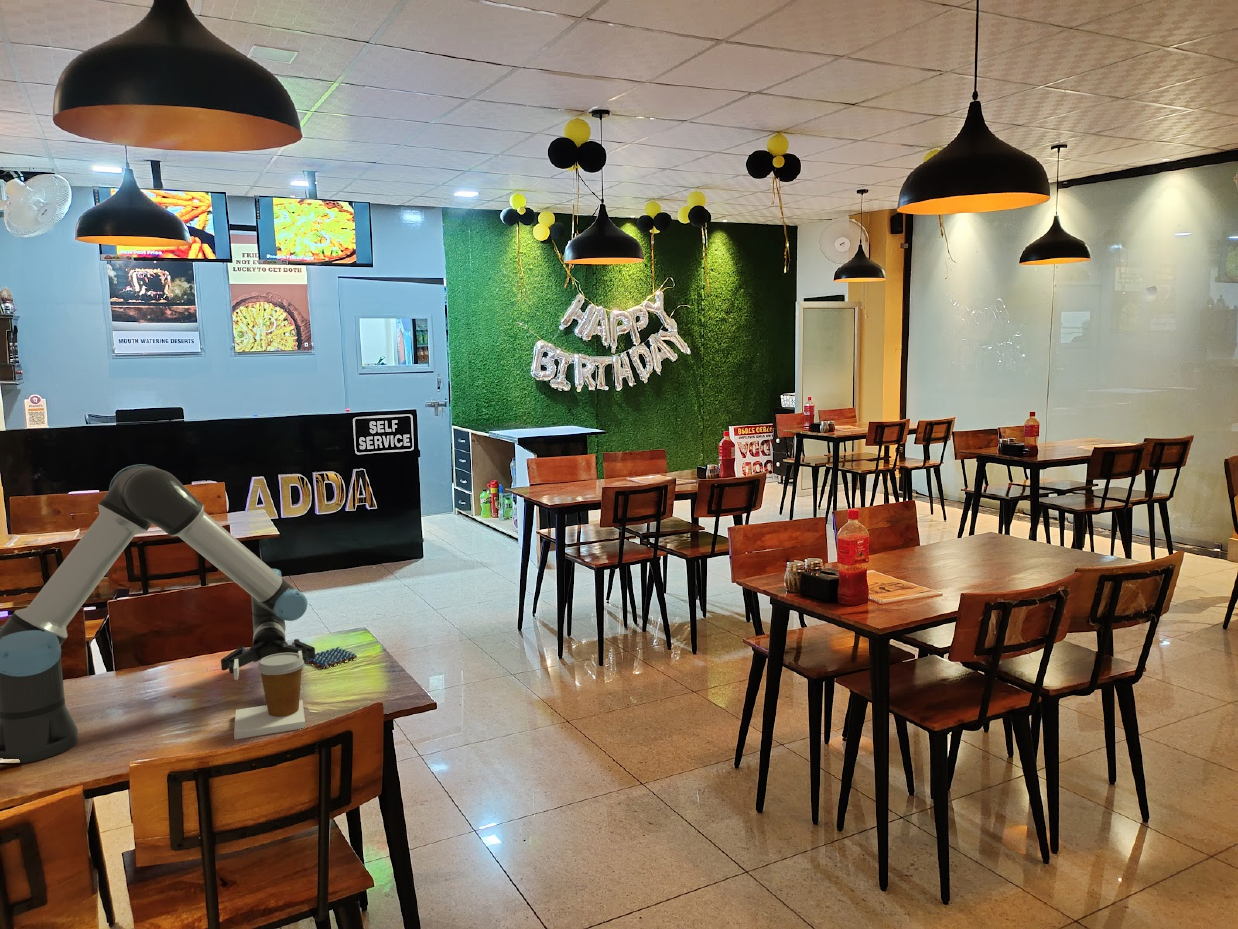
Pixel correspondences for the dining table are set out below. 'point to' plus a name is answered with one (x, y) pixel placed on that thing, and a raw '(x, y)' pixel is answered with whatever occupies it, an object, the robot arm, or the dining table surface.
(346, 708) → the dining table surface
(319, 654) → the woven mat
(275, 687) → the disposable coffee cup
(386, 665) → the dining table surface
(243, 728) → the pad
